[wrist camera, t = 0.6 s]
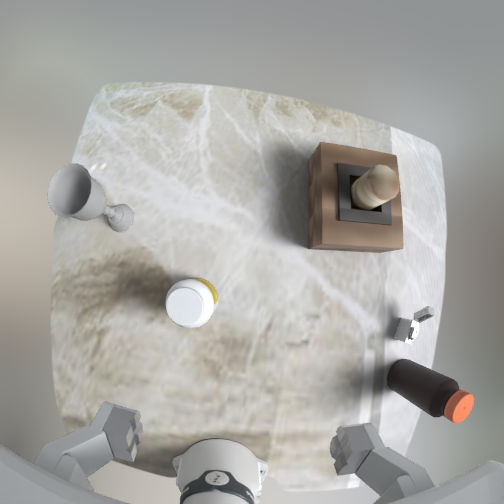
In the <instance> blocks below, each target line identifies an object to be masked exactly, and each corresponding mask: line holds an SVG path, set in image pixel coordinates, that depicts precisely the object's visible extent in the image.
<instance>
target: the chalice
mask: <svg viewBox="0 0 504 504" xmlns="http://www.w3.org/2000/svg"><path fill="white" fill-rule="evenodd" d="M48 203H49V206H50V208H51V210H52V211H53V212H54V213H55V214H56V215H58V216H60V217H70V216H71V217H73V218H76V219H79V220H84V221H87V220H90V219H94V218H97V217H98V216H99V215H101V214H104V215H106V216H107V217H108V221H109V224H110V226H111V228H112V229H113V230H114V231H117V232H123V231H126V230H127V229H128V228H129V227H130V226H131V225H132V222H133V218H134V215H133V211H132V209H131V208H130V207H129V206H128V205H125V204H120V205H117V206H115V207H109V206H108V205H106V195H105V192H104V190H103V188H102V186H101V184H100V183H99V182H97V181H96V180H95V179H93V178H92V177H91V176H90V174H89V172H88V170H87V169H86V168H85V167H83V166H82V165H79V164H69V165H66V166H64V167H62V168H61V169H60V170H59V171H57V173H56V174H55V175H54V177H53V178H52V180H51V182H50V185H49V188H48Z"/></svg>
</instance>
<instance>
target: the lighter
mask: <svg viewBox="0 0 504 504" xmlns="http://www.w3.org/2000/svg"><path fill="white" fill-rule="evenodd" d="M433 316H434V308H432V307H430V306H427V307H425V308H423V309H422V310H420V311H418V312H416V313H414V321H413V320H409V319H404V318H401V319H400V321H399V324H398V327H397V330H396V332H395V335H394V338H395V339H398V340H400V341H403V342H406V343H409V344H412V342H413V339H414V338H416V336H417V334H418V331H419V329H418V326H419V323H420V322H422V321H425V320H427V319H429V318H431V317H433Z"/></svg>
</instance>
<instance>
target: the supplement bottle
mask: <svg viewBox="0 0 504 504" xmlns="http://www.w3.org/2000/svg"><path fill="white" fill-rule="evenodd" d="M217 304H218V293H217V291H216V289H215V287H214V286H213V285H212V284H211V283H210V282H209V281H207V280H205V279H201V278H193V279H185V280H181V281H179V282H177V283H175V284H174V285H173V286H172V287H171V288H170V290H169V291H168V293H167V296H166V301H165V305H166V310H167V313H168V315H169V317H170V318H171V320H172V321H174V322H175V323H176V324H177V325H179V326H182V327H185V328H196V327H199V326H201V325H203V324H205V323H206V322H207V321H208V320H209V318H210V317H211V315H212V314H213V312H214V311H215V309H216V307H217Z"/></svg>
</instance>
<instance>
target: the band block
mask: <svg viewBox="0 0 504 504" xmlns="http://www.w3.org/2000/svg"><path fill="white" fill-rule="evenodd" d="M379 164H381V165H385V166H388V167H389V168H391V169H392V170H393V171H394V172H395V174H396V175H397V177H398V180H399V173H398V164H397V157H396V155H392V154H387V153H382V152H377V151H372V150H367V149H362V148H356V147H350V146H344V145H338V144H331V143H324V142H320V143H319V145H318V147H317V148H316V150H315V151H314V153H313V155H312V156H311V158H310V159H309V161H308V165H309V248H308V249H320V250H339V251H358V252H376V253H382V252H387V251H393V250H398V249H403V222H402V205H401V192H400V182H399V192H398V194H397V195H396V197H394V198H393V199H391V200H389V201H387V202H385V203H383V204H381V205H379V206H377V207H375V208H373V209H371V210H369V211H365V210H356V209H351V196H350V185H351V184H352V183H354V182H355V181H356V180H357V179H359V178H360V177H361V176H362V175H364V174H365V173H366V172H367V171H369V170H370V169H371V168H372V167H373V166H375V165H379Z"/></svg>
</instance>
